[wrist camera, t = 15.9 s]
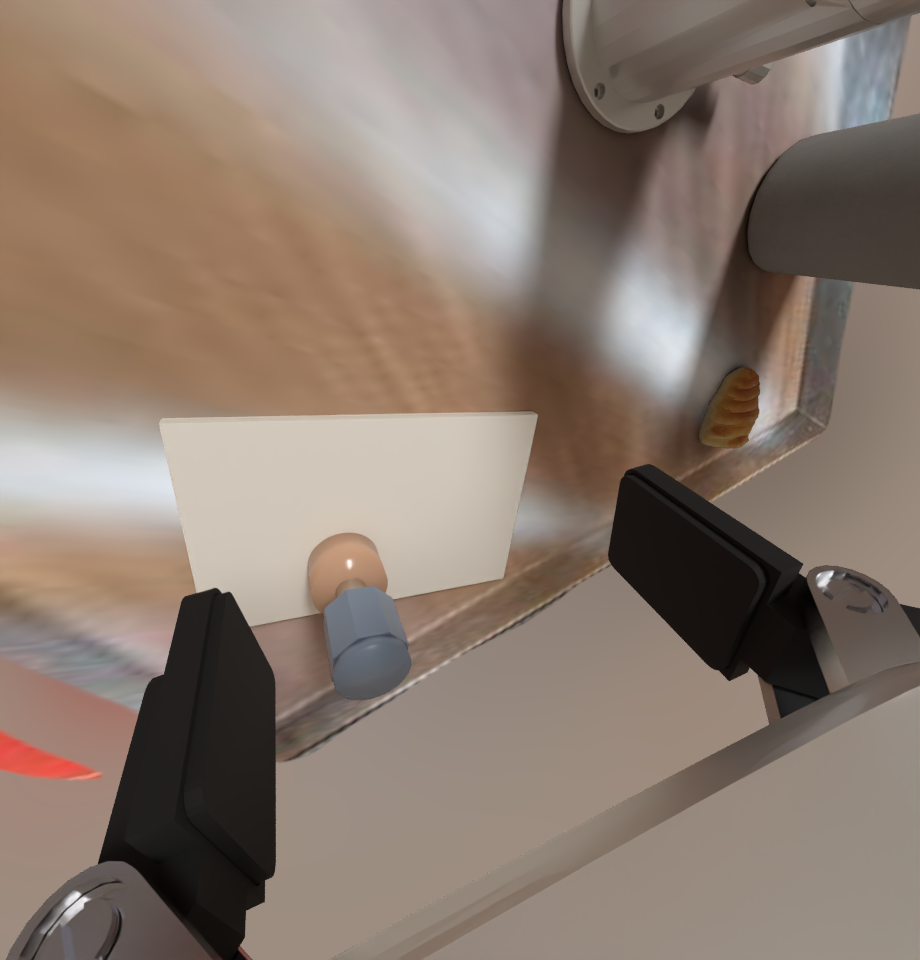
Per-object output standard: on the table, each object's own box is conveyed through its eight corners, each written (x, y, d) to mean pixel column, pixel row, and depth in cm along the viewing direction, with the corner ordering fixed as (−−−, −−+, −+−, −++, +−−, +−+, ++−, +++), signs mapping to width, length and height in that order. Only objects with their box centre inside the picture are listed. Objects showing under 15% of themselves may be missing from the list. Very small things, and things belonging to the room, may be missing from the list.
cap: (324, 592, 33) (335, 654, 28) (394, 583, 35) (415, 638, 30) (323, 643, 35) (332, 707, 31) (388, 631, 38) (406, 690, 33)
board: (532, 411, 41) (538, 414, 40) (499, 572, 50) (503, 578, 49) (161, 418, 29) (159, 423, 28) (207, 626, 39) (206, 634, 38)
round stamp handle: (378, 528, 39) (412, 614, 31) (377, 581, 42) (407, 673, 33) (305, 537, 37) (319, 633, 28) (309, 593, 40) (322, 696, 31)
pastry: (714, 368, 48) (745, 378, 45) (755, 361, 50) (788, 369, 47) (692, 444, 53) (718, 457, 50) (731, 434, 55) (759, 446, 52)
